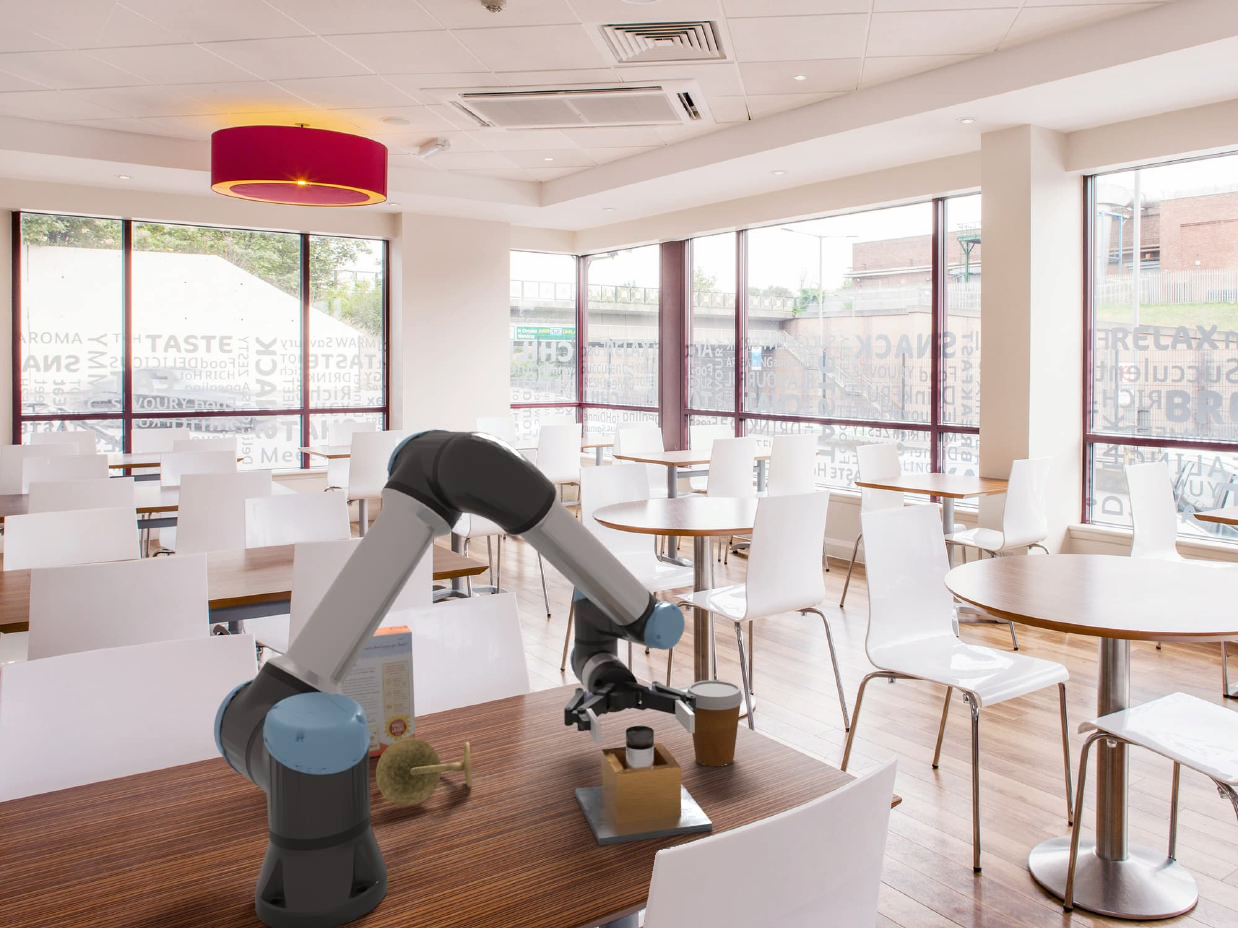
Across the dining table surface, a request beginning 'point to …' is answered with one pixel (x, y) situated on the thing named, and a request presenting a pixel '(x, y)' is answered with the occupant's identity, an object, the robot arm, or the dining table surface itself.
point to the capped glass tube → (639, 747)
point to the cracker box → (385, 687)
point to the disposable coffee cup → (715, 721)
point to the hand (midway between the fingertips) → (646, 728)
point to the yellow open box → (640, 800)
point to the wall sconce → (414, 771)
